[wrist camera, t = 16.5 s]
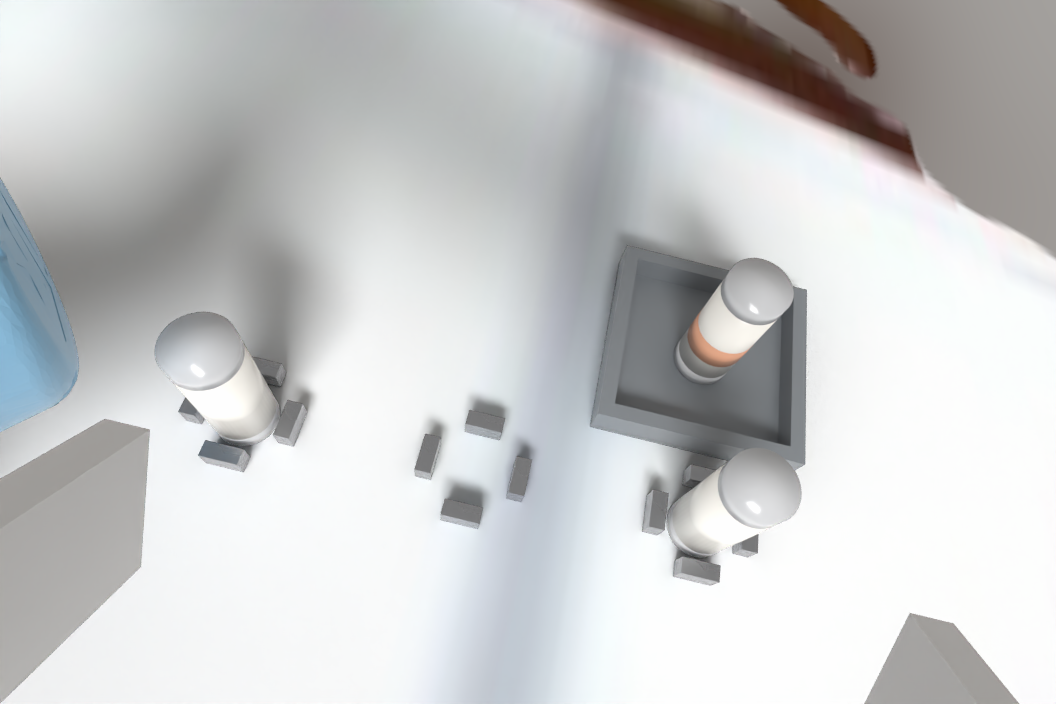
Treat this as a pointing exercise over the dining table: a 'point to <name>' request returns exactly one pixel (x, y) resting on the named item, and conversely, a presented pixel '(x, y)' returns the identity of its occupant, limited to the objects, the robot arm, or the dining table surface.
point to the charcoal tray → (678, 404)
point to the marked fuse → (733, 320)
